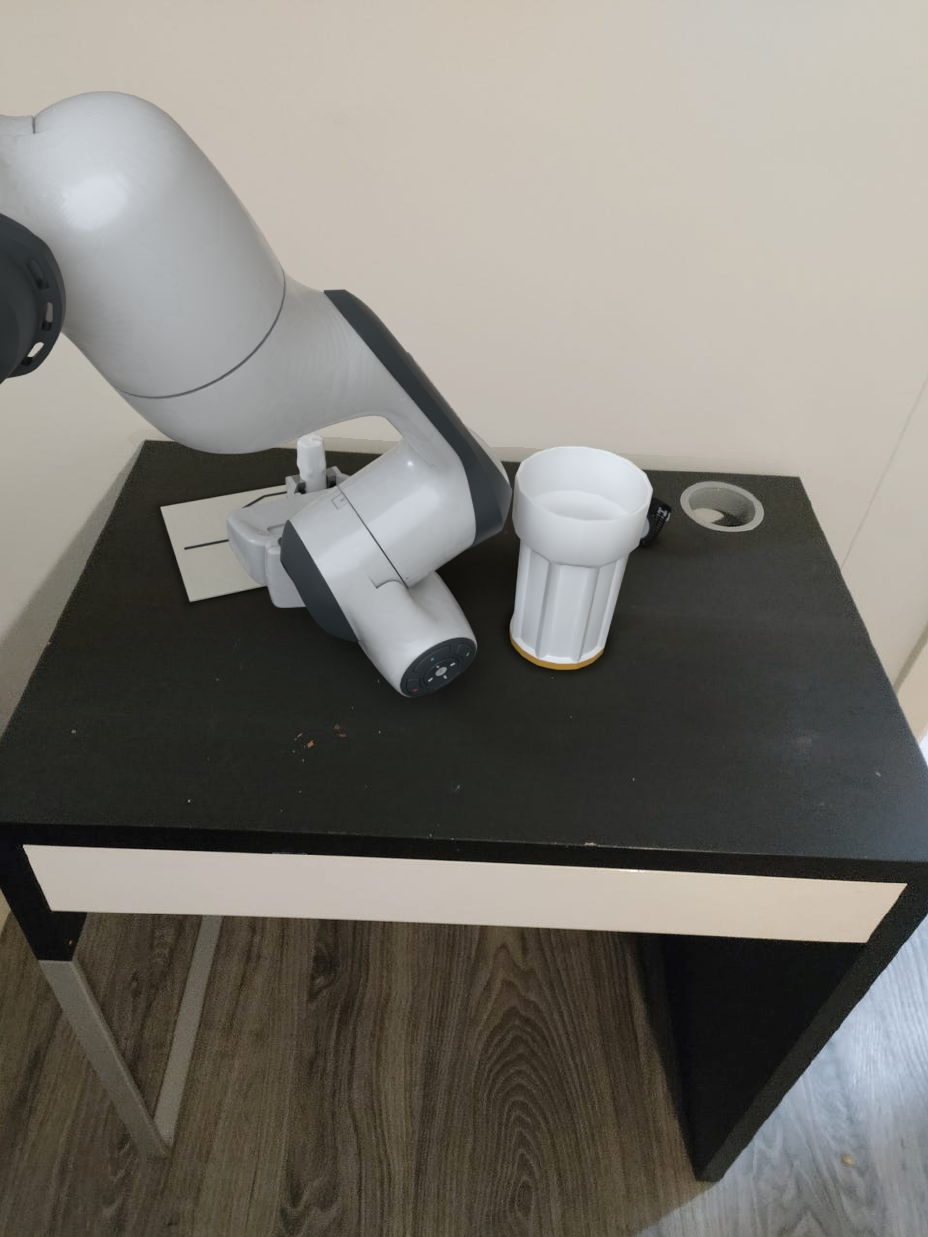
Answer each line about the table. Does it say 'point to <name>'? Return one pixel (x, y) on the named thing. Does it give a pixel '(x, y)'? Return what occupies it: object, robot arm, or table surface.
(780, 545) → the table surface
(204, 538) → the sketch sheet
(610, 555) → the cup
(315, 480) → the candle
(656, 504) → the smartwatch
